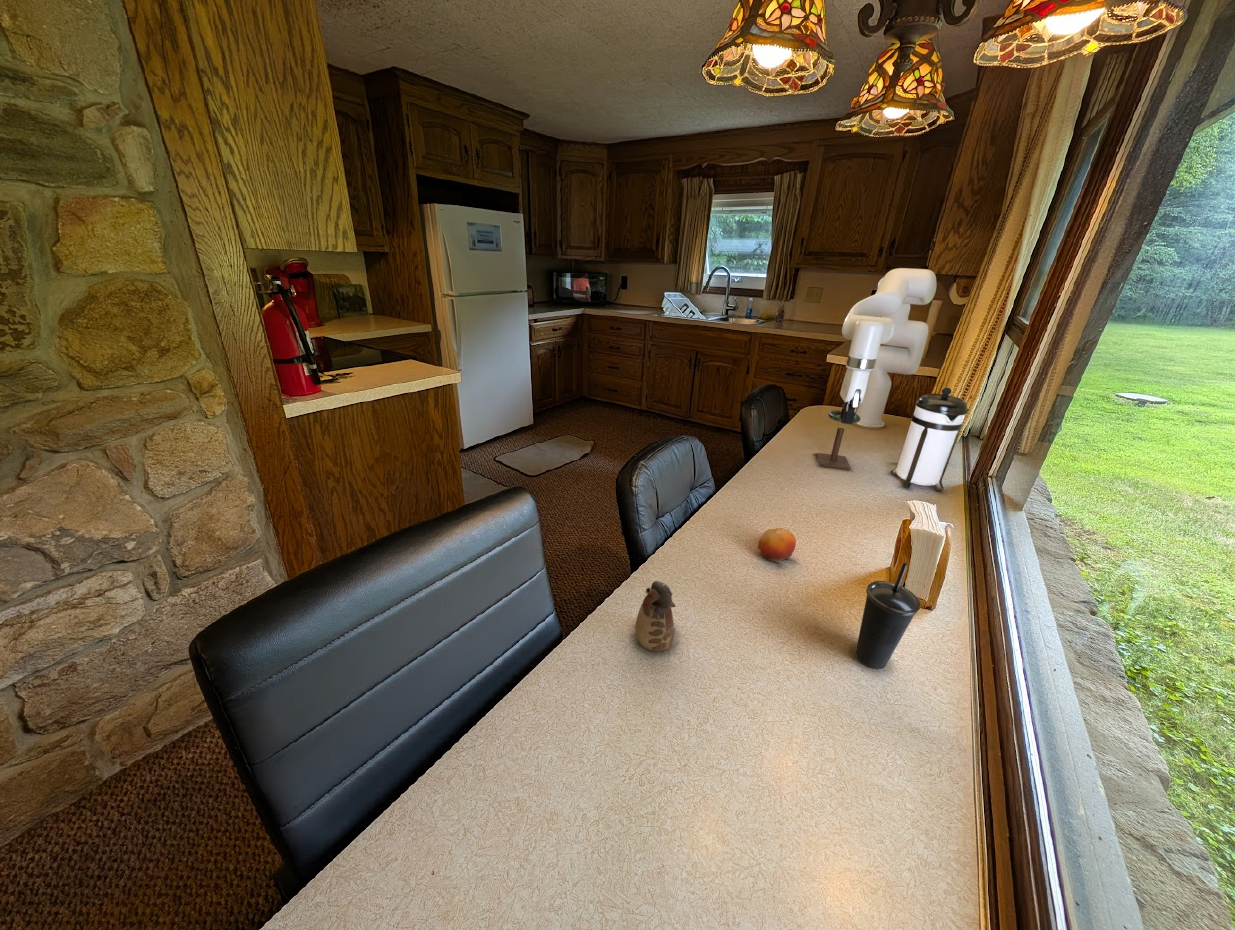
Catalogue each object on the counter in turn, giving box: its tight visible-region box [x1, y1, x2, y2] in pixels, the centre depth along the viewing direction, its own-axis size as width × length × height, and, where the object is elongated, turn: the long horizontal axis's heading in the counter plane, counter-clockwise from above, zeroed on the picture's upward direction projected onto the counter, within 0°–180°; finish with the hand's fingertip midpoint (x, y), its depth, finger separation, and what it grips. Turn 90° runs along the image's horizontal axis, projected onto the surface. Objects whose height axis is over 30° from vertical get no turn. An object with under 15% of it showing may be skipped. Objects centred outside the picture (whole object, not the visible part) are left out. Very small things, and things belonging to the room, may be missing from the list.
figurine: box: [634, 580, 677, 653], centre depth 80 cm, size 7×7×12 cm
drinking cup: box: [855, 562, 921, 670], centre depth 75 cm, size 8×8×20 cm
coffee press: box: [889, 387, 970, 493], centre depth 137 cm, size 17×16×30 cm
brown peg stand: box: [816, 427, 851, 471], centre depth 151 cm, size 9×9×12 cm
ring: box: [827, 409, 861, 424], centre depth 146 cm, size 9×9×2 cm
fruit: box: [757, 527, 797, 564], centre depth 104 cm, size 8×8×8 cm
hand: (845, 421), depth 143 cm, fingers closed on ring, 2 cm apart
